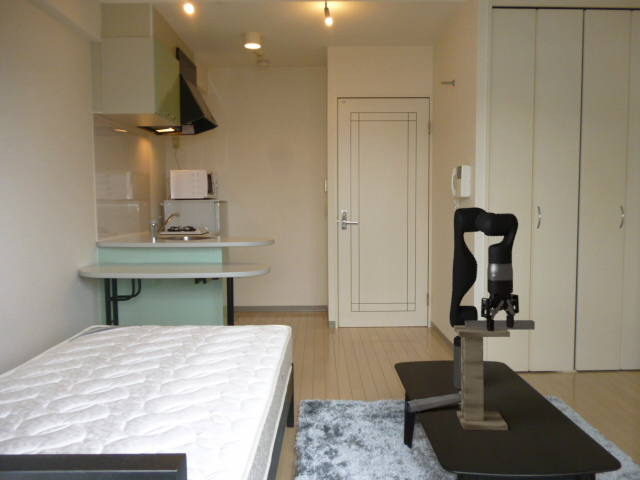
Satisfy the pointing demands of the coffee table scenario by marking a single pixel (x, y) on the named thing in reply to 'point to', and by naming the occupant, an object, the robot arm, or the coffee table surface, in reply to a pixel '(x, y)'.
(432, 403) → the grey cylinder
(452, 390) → the coffee table surface
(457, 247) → the robot arm
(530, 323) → the grey long bar
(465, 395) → the birch stand
